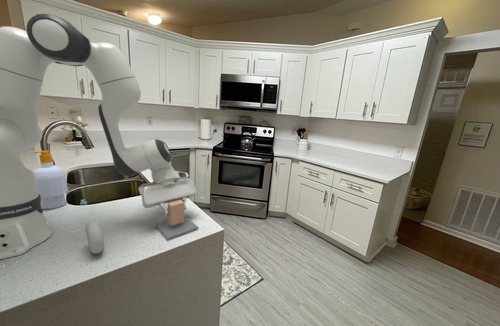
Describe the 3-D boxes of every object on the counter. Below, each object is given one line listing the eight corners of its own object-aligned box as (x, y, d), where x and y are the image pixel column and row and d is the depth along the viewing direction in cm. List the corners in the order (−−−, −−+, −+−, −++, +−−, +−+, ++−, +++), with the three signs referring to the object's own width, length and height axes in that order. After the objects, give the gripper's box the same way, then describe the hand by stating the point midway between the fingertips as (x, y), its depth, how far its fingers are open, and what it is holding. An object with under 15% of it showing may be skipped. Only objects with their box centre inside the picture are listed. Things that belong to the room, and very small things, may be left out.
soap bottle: (33, 206, 88) (21, 150, 82) (63, 198, 97) (55, 147, 91) (43, 213, 84) (32, 154, 78) (74, 204, 92) (66, 151, 87)
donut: (87, 245, 67) (83, 217, 65) (100, 241, 70) (96, 214, 67) (92, 262, 60) (88, 231, 58) (106, 257, 63) (103, 227, 60)
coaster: (167, 240, 72) (167, 238, 72) (155, 225, 81) (154, 223, 80) (198, 229, 80) (198, 227, 80) (184, 216, 89) (184, 214, 88)
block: (171, 225, 77) (171, 205, 75) (168, 222, 79) (167, 202, 77) (184, 221, 80) (184, 202, 78) (180, 218, 83) (180, 199, 81)
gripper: (138, 180, 74) (149, 216, 70) (191, 172, 88) (203, 201, 83) (135, 188, 78) (145, 222, 74) (186, 179, 92) (197, 207, 87)
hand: (176, 211), depth 79 cm, fingers closed on block, 5 cm apart
